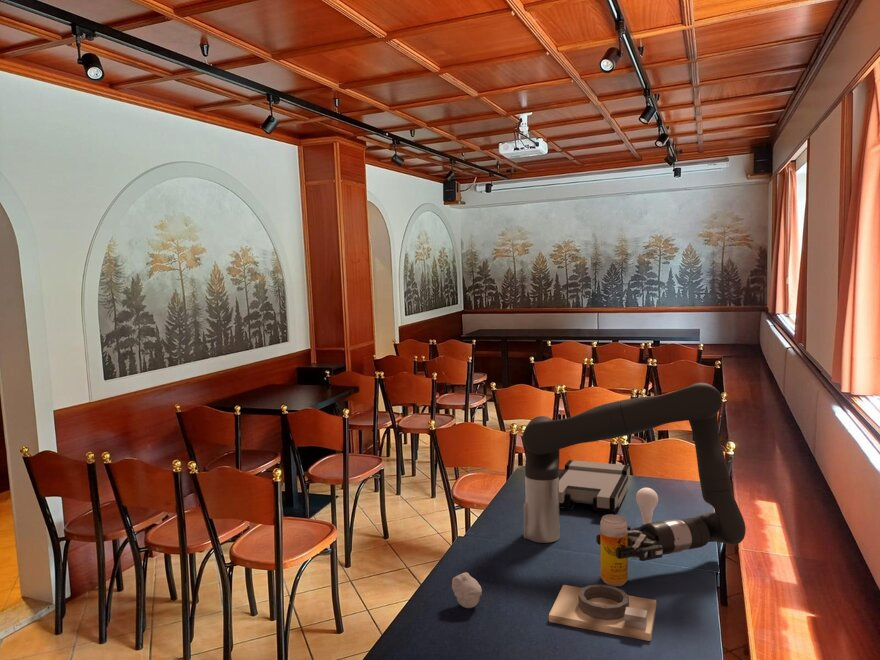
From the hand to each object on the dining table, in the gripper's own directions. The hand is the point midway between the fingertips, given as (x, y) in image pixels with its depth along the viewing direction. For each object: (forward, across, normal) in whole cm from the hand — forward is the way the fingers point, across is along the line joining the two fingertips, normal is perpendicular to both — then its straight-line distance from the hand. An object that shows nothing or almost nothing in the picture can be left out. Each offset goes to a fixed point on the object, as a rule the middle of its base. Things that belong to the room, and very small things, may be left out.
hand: (606, 546), depth 144 cm
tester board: (+8, +12, +8) cm, 17 cm away
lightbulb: (-29, -26, +9) cm, 41 cm away
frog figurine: (+34, 0, +9) cm, 35 cm away
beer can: (-2, 0, +9) cm, 9 cm away
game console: (-26, -52, +9) cm, 59 cm away
